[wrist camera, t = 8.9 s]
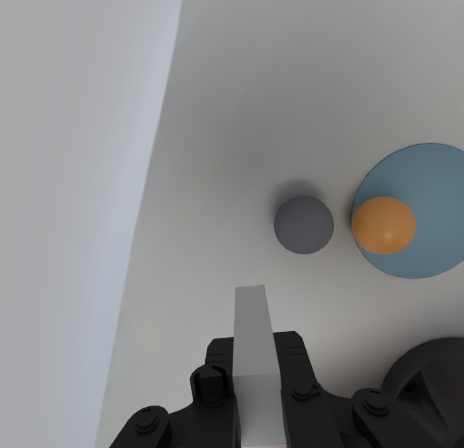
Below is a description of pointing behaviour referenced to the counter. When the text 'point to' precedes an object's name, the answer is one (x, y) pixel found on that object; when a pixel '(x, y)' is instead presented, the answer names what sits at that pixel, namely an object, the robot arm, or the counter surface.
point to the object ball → (383, 225)
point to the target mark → (422, 207)
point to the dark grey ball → (303, 225)
